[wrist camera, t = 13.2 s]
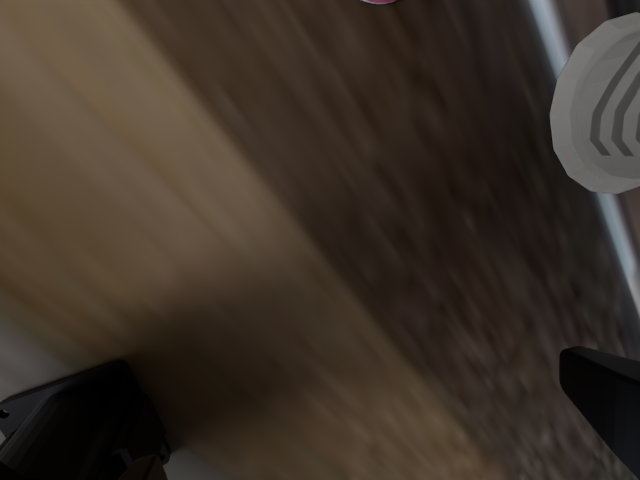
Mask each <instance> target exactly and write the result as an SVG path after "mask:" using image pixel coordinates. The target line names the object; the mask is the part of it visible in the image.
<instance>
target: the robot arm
mask: <svg viewBox="0 0 640 480" xmlns="http://www.w3.org/2000/svg"><path fill="white" fill-rule="evenodd" d="M114 369H120V370H121V371H122V373H120V374H118V373H116V372H115V371H114ZM559 380H560V385H561V387H562V389H563V391H564V392H565V394H566V395H567V396H568V397H569V399H570V400H571V401H572V402H573V404H574V405H575V406H576V407H577V409H578V410H579V411H580V412H581V413H582V415H583V416H584V417H585V418H586V420H587V421H588V422H589V423H590V425H591V426H592V427H593V428H594V430H595V431H596V432H597V433H598V434H599V436H600V437H601V438H602V439H603V441H604V442H605V443H606V444H607V445H608V447H609V448H610V449H611V450H612V451H613V452H614V454H615V455H616V456H617V457H618V458H619V459H620V460H621V461H622V462H623V463H624V464H625V465H626V466H627V467H628V468H629V470H630V471H631V472H632V473H633V474H634V475H635V476H636V477H637V478H638V479H639V480H640V362H639V361H636V360H632V359H628V358H624V357H620V356H617V355H613V354H609V353H605V352H601V351H597V350H594V349H590V348H586V347H582V346H575V347H571V348H567V349H564V350H562V351H561V353H560V362H559ZM3 409H5V410H7V411H9V413H5V412H4V411H3ZM0 430H1V431H2V433H3V434H4V436H5V437H6V439H5V440H4V442H3V443H2V444H1V445H0V480H168V479H167V476H166V473H165V470H164V468H163V465H164V464H166V463H167V462H168V461H169V458H170V454H171V449H170V447H169V445H168V443H167V441H166V439H165V437H164V436H165V432H166V431H165V428H164V426H163V424H162V422H161V420H160V418H159V416H158V414H157V412H156V410H155V408H154V406H153V404H152V402H151V400H150V398H149V396H148V395H147V394H145V393H143V392H142V391H141V389H140V387H139V385H138V383H137V381H136V379H135V377H134V375H133V373H132V371H131V369H130V367H129V365H128V364H127V363H126V362H124V361H121V360H117V361H113V362H110V363H108V364H105V365H102V366H99V367H96V368H93V369H91V370H88V371H85V372H82V373H79V374H77V375H74V376H71V377H68V378H65V379H63V380H60V381H57V382H54V383H51V384H48V385H46V386H43V387H40V388H37V389H34V390H32V391H29V392H26V393H23V394H20V395H17V396H15V397H12V398H9V399H6V400H3V401H2V402H0ZM160 454H163V455H164V456H159V455H160Z"/></svg>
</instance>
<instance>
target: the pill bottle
mask: <svg viewBox="0 0 640 480" xmlns="http://www.w3.org/2000/svg"><path fill="white" fill-rule="evenodd" d="M362 1H365V2H368V3H372V4H387V3H391V2H394V1H397V0H362Z"/></svg>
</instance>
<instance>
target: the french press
mask: <svg viewBox="0 0 640 480" xmlns="http://www.w3.org/2000/svg"><path fill="white" fill-rule="evenodd" d="M550 123H551V131H552V140H553V149H554V151H555V153H556V155H557V156H558V158H559V160H560V162H561V164H562V166H563V167H564V169H565V171H566V173H567V175H568V176H569V177H571V178H572V179H573V180H575V181H576V182H578V183H579V184H581V185H582V186H584V187H585V188H587V189H588V190H589V191H593V192H602V193H612V194H619V193H622V192H625V191H628V190H630V189H633V188H636V187H639V186H640V13H637V12H635V13H631V14H628V15H625V16H621V17H618V18H614V19H611V20H607V21H605V22H604V23H602V24H601V25H600V26H599V27H598V28H596V29H595V30H594V31H593V32H592V33H590V34H589V35H588V36H587V37H586V38H584V39H583V40H582V41H581V42H580V43H578V44H577V46H576V48H575V49H574V51H573V53H572V54H571V56H570V58H569V60H568V61H567V63H566V65H565V66H564V68H563V70H562V71H561V73H560V75H559V76H558V79H557V84H556V88H555V93H554V97H553V102H552V106H551V111H550Z"/></svg>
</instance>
